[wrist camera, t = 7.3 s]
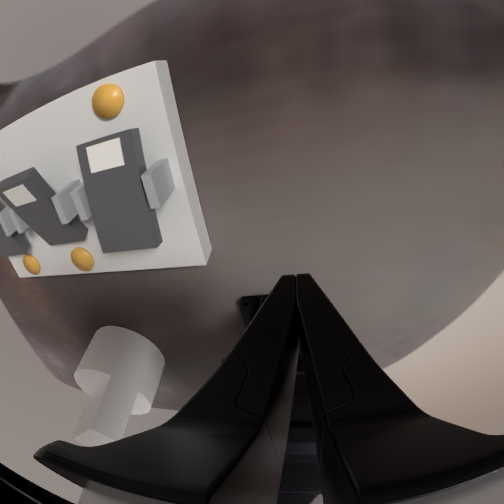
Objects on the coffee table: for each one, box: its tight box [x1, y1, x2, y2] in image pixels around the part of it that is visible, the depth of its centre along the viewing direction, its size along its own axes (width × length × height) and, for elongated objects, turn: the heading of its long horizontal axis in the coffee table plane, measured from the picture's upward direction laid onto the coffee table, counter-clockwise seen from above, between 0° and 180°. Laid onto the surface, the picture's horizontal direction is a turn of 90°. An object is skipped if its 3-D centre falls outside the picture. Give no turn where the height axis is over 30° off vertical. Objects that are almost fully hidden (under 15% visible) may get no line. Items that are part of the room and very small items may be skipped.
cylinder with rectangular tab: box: [72, 326, 165, 447], centre depth 28 cm, size 9×9×12 cm
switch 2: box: [0, 167, 89, 246], centre depth 18 cm, size 7×4×1 cm, turn 10°
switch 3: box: [76, 128, 163, 253], centre depth 17 cm, size 7×4×1 cm, turn 9°
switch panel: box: [0, 60, 212, 277], centre depth 20 cm, size 14×21×5 cm, turn 99°
